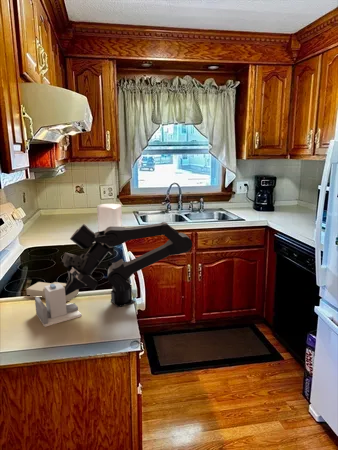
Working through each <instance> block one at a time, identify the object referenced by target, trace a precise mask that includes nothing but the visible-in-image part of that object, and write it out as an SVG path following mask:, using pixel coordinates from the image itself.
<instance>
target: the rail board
mask: <svg viewBox="0 0 338 450" xmlns="http://www.w3.org/2000/svg"><path fill="white" fill-rule="evenodd" d="M41 299H42V298H40V297H34V304H35V315H36V317H38V319H39V320H40V322H41V325H43V327H48V326H53V325H56V324H58V323H62V322H66V321H70V320H73V319H77V318H81V317H82V313H81V311H79V307H78V305H77V304H76V303H73V302H72V303H66V310H67V314H66V315H62V316H58V317H54V318H51V314H50V313H49V312H48V310H47V308H46V304H45V303H44V302H43V301H42V300H41Z"/></svg>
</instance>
